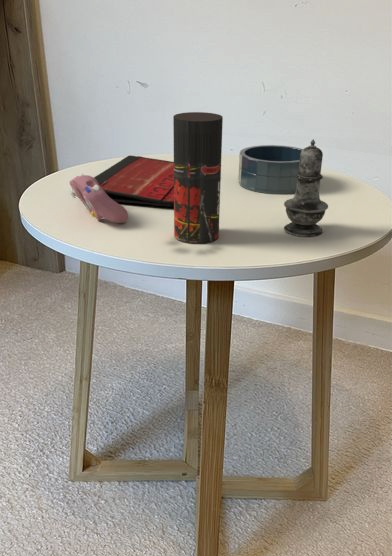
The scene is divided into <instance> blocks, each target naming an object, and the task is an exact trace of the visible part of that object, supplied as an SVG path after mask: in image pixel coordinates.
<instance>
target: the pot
mask: <svg viewBox="0 0 392 556" xmlns="http://www.w3.org/2000/svg"><path fill="white" fill-rule="evenodd" d="M303 149H304V148H301V147H296V146H291V145H290V146H289V145H280V144H279V145H278V144H277V145H276V144H263V145H253V146H248V147H245V148H242V149H241V150H240V151H239V159H238V174H237V175H238V178H237V179H238V182H237V183H238V185H239V187H241V188H243V189H245V190H249V191H252V192H256V193H260V194H269V195H288V194H289V195H290V194H291V195H292V194H295V193H296V188H297V177H296V176H295V175H296V174H297V173H298V172H299V164H300V154H301V151H302V150H303Z"/></svg>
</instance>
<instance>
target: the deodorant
mask: <svg viewBox="0 0 392 556" xmlns="http://www.w3.org/2000/svg"><path fill="white" fill-rule="evenodd" d="M223 119H224V117H223V115H221V114H219V113H218V114H217V113H214V112H203V111H191V112H188V111H187V112H181V113H177V114H174V115H173V119H172V123H173V127H172V128H173V162H174V207H173V236H174V238H175V239H176V240H177V241H178V242H181V243H185V244H191V245H197V244H198V245H201V244H208V243H213V242H215V241H217V240H218V239H219V237H220V214H221V213H220V211H221V209H220V208H221V183H222V182H221V180H222V178H221V177H222V153H223V152H222V149H223V125H224V123H223V122H224V121H223Z"/></svg>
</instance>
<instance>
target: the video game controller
mask: <svg viewBox="0 0 392 556" xmlns="http://www.w3.org/2000/svg"><path fill="white" fill-rule="evenodd" d="M94 177H95V176H91V175H86V174H84V173H81V175H79V176H78V175H76V176H75V177H73V178H72V179H70V181H69V185H70V187H71V190H69V195H70V196H71V197H72V198H74V199H76V198H78V199H79V200H80V201H81V203H82V204H83V205H84V207H85V208H86V210H87V211H88V212H89V214H90V216H91V217H92V218H95V219H96V220H97V221H98V222H99V221H101V220H102V219H105V220H107V221H109V222H112V223H116V224H124V223H127V221H128V219H129V213H128V211H127V209H126V208H125V207H124V206H123V205H121V204H120V203H119V202H115V201H114V200H112V199H111V198H110V197H109V196H108V195H107V194H106V193H105V191H104V190H103V189H102V188H101V187H100V186H99V183H98V181H97V180H96V179H95V178H94Z"/></svg>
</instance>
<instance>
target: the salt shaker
mask: <svg viewBox="0 0 392 556" xmlns="http://www.w3.org/2000/svg"><path fill="white" fill-rule="evenodd" d="M315 144H316V141H315V139H314V138H313V139H312V140H311V141H310V145H309V146H306V147H304V148H302V149H303V150H302V151H301V154H300V164H299V172H298V173H297V174H296V175H295V176H296V177H297V188H296V193H294V195H293V197H291V198H289V199H286V200H284V203H283V206H284V207H285V213H286V217H287V219H288V220H290V222H289V223H287V224H286V225H284V227H283V230H284V233H287V234H289V235H291V236H296V237H301V238H313V237H317V236H320V235H322V234H323V231H324V230H323V228H322V227H321V226H320V225H318V223H319V222H320V221H322V220H323V218H324V216H325V214H326V211H327V210H328V209H329V204H328V203H327V202H326V201H324V200H321V197H320V187H321V180H322V179H324V176H323V174H322V173H321V171H322V164H323V157H324V156H323V155H324V153H323V151H322V149H321V148H319V147H317V145H315Z"/></svg>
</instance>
